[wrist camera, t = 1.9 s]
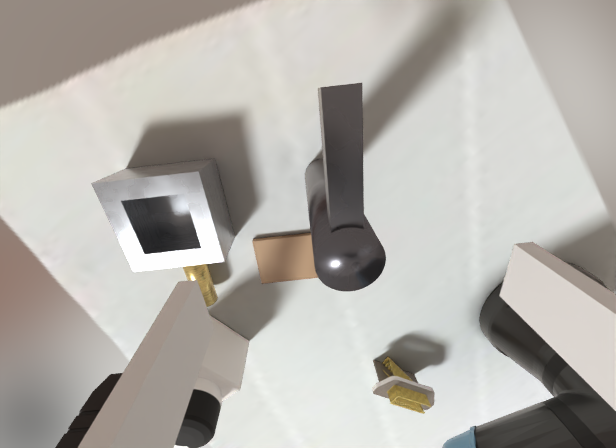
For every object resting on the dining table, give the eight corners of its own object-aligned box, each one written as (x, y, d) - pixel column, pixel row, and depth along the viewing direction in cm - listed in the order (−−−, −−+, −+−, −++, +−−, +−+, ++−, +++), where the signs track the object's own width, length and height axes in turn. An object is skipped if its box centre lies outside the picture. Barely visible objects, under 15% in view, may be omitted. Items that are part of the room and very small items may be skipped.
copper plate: (313, 232, 31) (313, 234, 30) (317, 274, 33) (318, 277, 33) (253, 239, 31) (252, 241, 30) (262, 280, 33) (261, 283, 33)
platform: (370, 317, 37) (384, 359, 32) (464, 354, 42) (492, 397, 36) (327, 368, 42) (333, 413, 36) (417, 397, 46) (435, 441, 40)
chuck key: (340, 190, 29) (384, 287, 14) (306, 194, 29) (317, 294, 14) (334, 88, 24) (391, 79, 10) (295, 93, 24) (295, 90, 10)
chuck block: (215, 158, 27) (198, 171, 22) (247, 285, 34) (239, 315, 29) (125, 168, 27) (91, 183, 22) (176, 293, 34) (158, 323, 29)
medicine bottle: (210, 313, 35) (172, 409, 25) (250, 340, 38) (232, 438, 27) (178, 340, 37) (130, 441, 27) (218, 364, 40) (189, 464, 29)
